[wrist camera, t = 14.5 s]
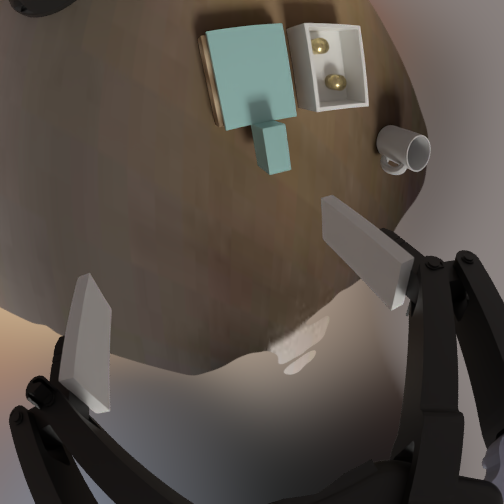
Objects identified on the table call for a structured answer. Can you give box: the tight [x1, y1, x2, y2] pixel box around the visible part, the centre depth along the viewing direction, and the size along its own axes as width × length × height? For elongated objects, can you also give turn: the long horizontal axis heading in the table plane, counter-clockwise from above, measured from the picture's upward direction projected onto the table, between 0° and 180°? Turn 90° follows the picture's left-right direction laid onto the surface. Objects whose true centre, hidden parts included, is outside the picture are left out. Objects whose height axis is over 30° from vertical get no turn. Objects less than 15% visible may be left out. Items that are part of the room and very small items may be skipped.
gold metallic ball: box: [311, 38, 329, 54], centre depth 36 cm, size 3×3×2 cm
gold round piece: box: [325, 74, 347, 91], centre depth 40 cm, size 3×3×2 cm
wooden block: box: [198, 35, 224, 127], centre depth 37 cm, size 14×12×3 cm
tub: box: [286, 23, 369, 112], centre depth 38 cm, size 14×10×6 cm
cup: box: [377, 125, 431, 175], centre depth 49 cm, size 7×10×9 cm
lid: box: [205, 23, 297, 175], centre depth 35 cm, size 21×11×6 cm, turn 11°
